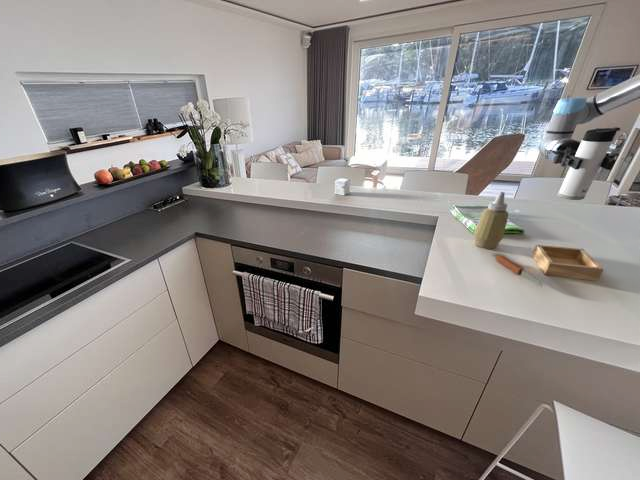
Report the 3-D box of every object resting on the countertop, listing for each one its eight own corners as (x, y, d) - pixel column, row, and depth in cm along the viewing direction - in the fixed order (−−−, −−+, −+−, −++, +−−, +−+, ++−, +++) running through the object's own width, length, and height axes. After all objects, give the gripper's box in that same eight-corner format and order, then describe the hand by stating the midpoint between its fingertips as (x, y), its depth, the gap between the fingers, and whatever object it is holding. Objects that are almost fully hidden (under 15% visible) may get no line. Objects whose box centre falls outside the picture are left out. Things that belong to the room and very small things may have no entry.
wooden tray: (531, 254, 89) (535, 244, 87) (577, 259, 85) (583, 248, 83) (544, 274, 79) (549, 263, 77) (597, 281, 75) (603, 269, 73)
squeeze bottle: (494, 240, 98) (512, 188, 89) (503, 251, 92) (523, 196, 82) (468, 239, 100) (482, 188, 91) (474, 249, 94) (491, 196, 85)
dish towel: (491, 211, 120) (494, 203, 119) (525, 234, 101) (529, 224, 99) (448, 212, 123) (450, 204, 121) (472, 234, 103) (475, 225, 101)
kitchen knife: (494, 260, 87) (496, 254, 86) (498, 259, 87) (500, 254, 86) (538, 289, 74) (541, 283, 73) (543, 289, 74) (546, 282, 73)
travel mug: (587, 201, 87) (624, 129, 76) (559, 198, 90) (590, 129, 80) (582, 195, 91) (616, 126, 81) (555, 193, 94) (585, 126, 84)
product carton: (334, 194, 157) (334, 180, 153) (340, 191, 161) (340, 177, 157) (344, 195, 153) (345, 181, 150) (349, 192, 157) (350, 179, 154)
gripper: (595, 162, 97) (634, 179, 79) (525, 161, 104) (547, 177, 86) (606, 138, 93) (650, 150, 75) (533, 139, 101) (557, 150, 83)
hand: (595, 164), depth 81 cm, fingers closed on travel mug, 6 cm apart
